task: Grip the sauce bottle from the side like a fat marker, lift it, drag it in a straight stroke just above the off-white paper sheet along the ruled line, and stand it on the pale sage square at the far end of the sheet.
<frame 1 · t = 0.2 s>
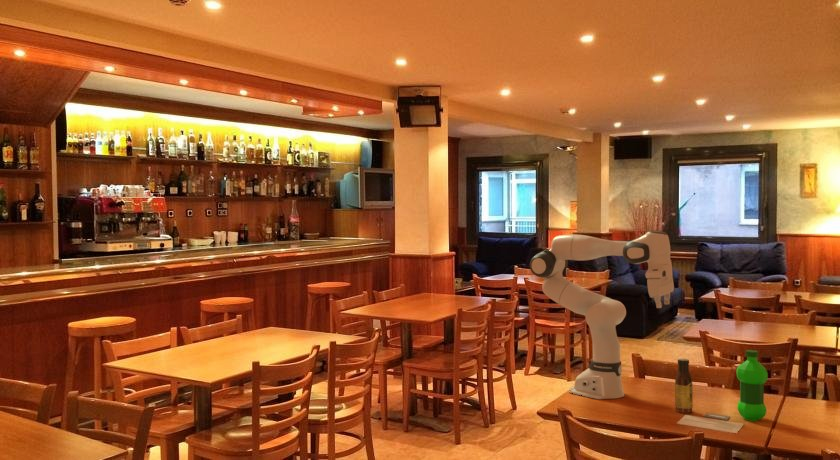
hand: (663, 306, 274), 39 cm above the table, tool pointing down, fingers open, 8 cm apart
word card: (716, 417, 256), on the table
plastic bottle: (751, 419, 253), on the table
paper: (710, 424, 248), on the table
sauce bottle: (683, 411, 264), on the table
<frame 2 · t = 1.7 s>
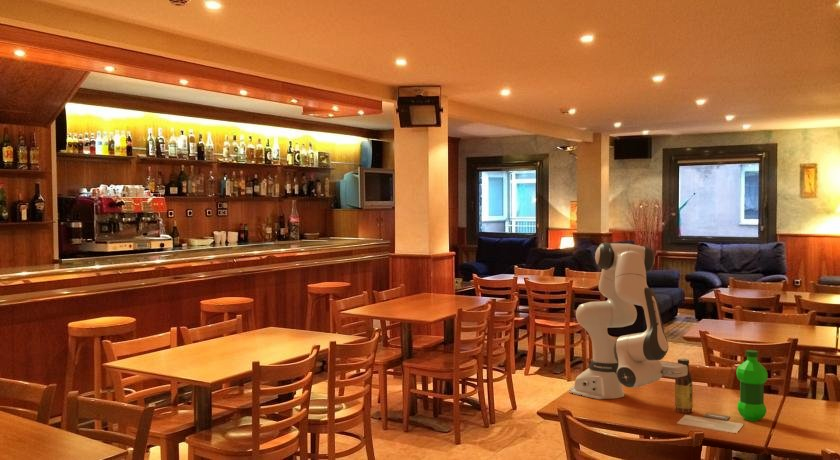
hand: (668, 363, 255), 20 cm above the table, tool horizontal, fingers open, 8 cm apart
nothing on the table moved.
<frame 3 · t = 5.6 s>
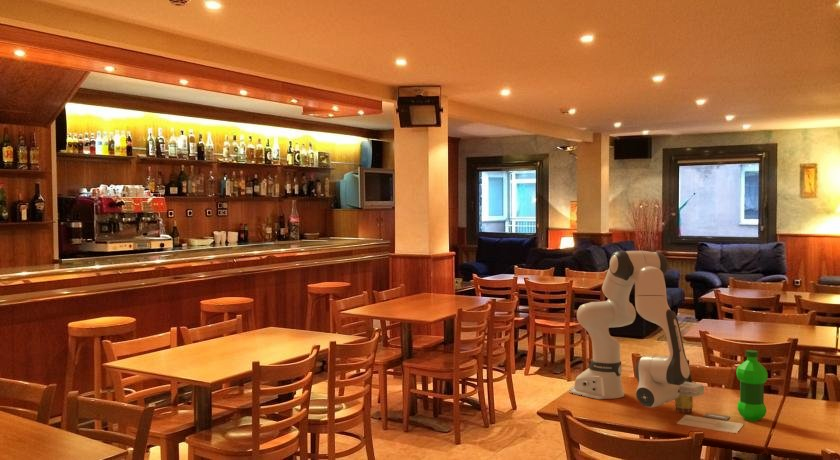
hand: (684, 382, 264), 11 cm above the table, tool horizontal, fingers closed on sauce bottle, 6 cm apart
sauce bottle: (683, 411, 264), on the table, touching gripper
everything else where it was.
when the fingers open (12 cm above the table, at t = 11.4 s): sauce bottle stays where it is, resting on paper.
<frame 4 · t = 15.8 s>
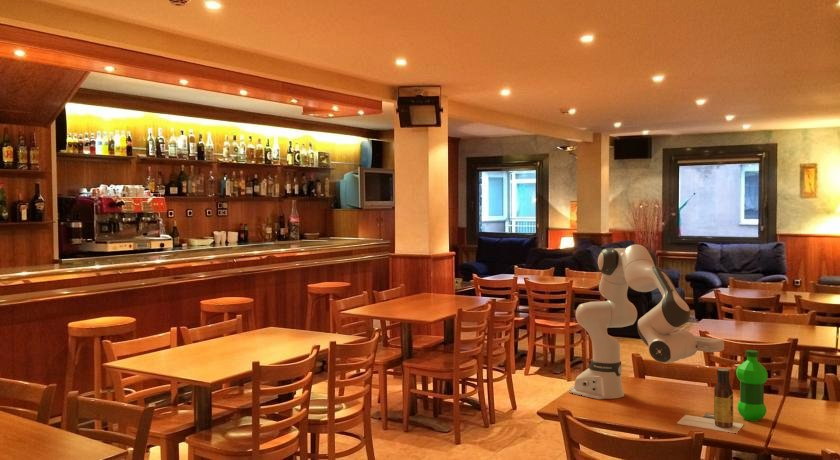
hand: (702, 339, 241), 32 cm above the table, tool horizontal, fingers open, 8 cm apart
sauce bottle: (723, 426, 245), resting on paper
everything else where it was.
at the end: sauce bottle inside the target area (0.5 cm from its centre), resting on paper; sauce bottle tilted 0°; the gripper is holding nothing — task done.
